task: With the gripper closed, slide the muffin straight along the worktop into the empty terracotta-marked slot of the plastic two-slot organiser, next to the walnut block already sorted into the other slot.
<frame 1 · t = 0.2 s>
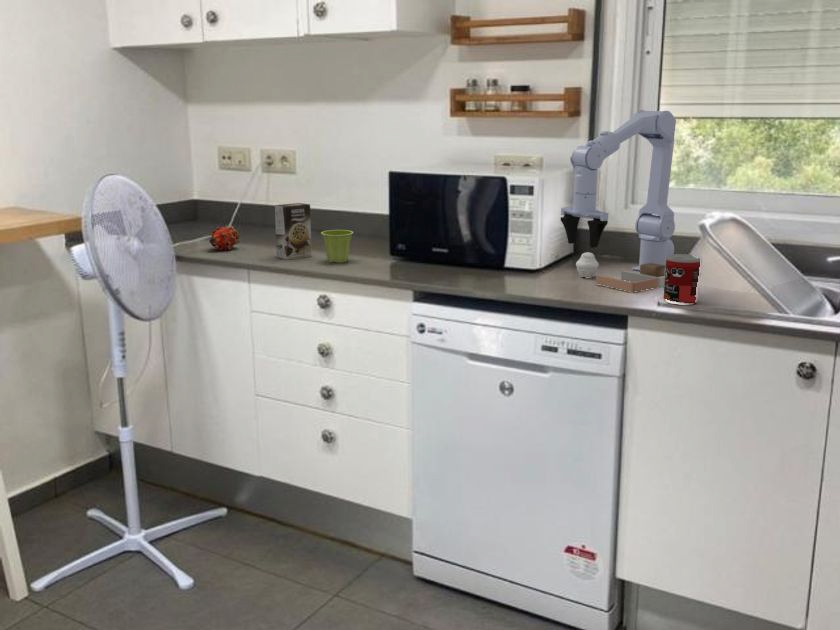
hand: (582, 245, 223), 10 cm above the worktop, fingers open, 7 cm apart
organiser: (639, 283, 223), on the worktop
canned food: (680, 302, 203), on the worktop
plant pot: (337, 261, 254), on the worktop
walnut block: (651, 281, 226), resting in organiser
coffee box: (294, 257, 261), on the worktop
muffin: (586, 277, 231), on the worktop
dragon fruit: (224, 250, 272), on the worktop
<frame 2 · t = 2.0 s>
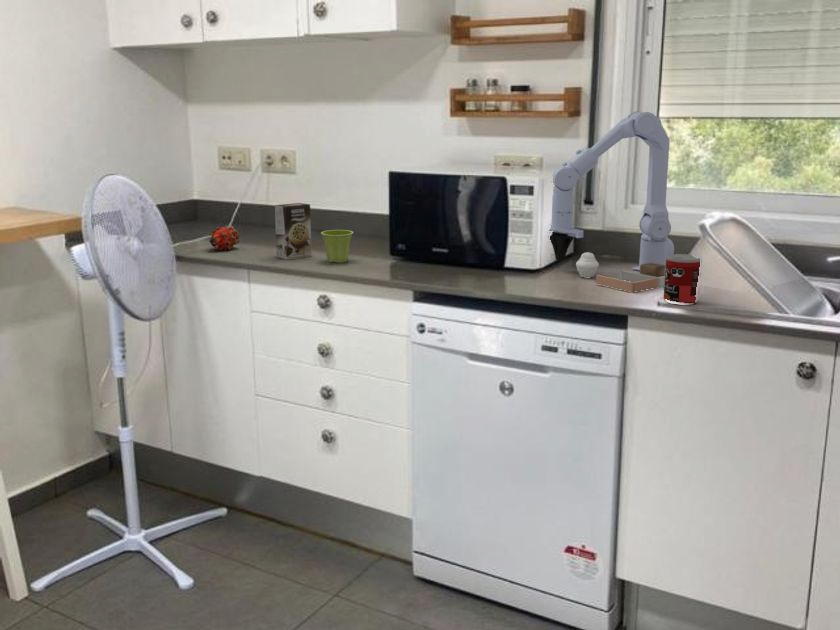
hand: (560, 260, 238), 3 cm above the worktop, fingers closed
nothing on the worktop moved.
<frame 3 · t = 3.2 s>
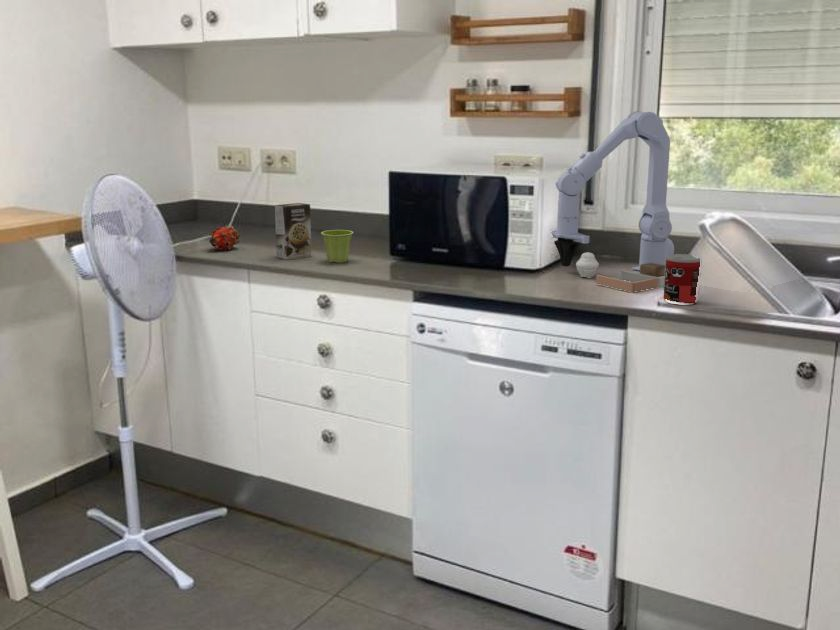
hand: (565, 265, 237), 2 cm above the worktop, fingers closed
nothing on the worktop moved.
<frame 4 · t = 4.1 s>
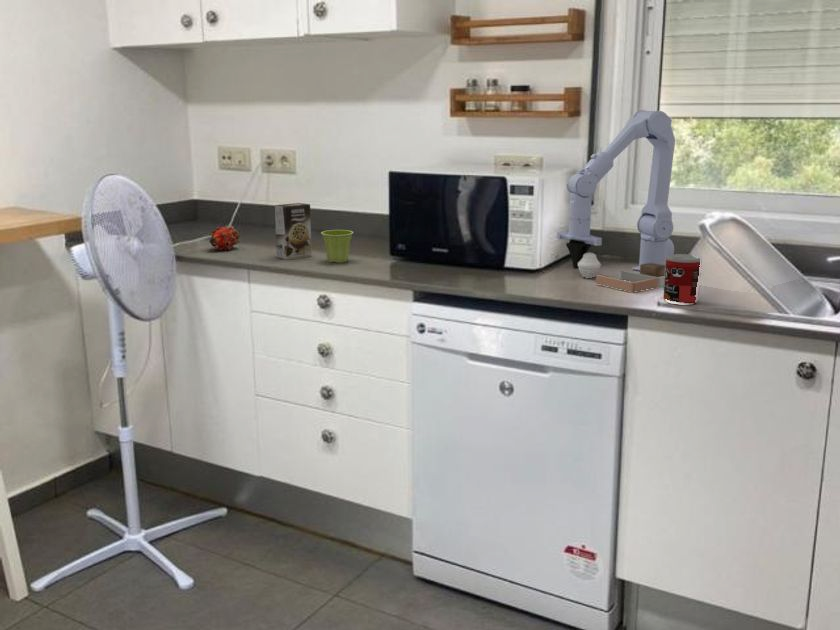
hand: (577, 268, 233), 2 cm above the worktop, fingers closed
muffin: (588, 278, 230), on the worktop, touching gripper
everything else where it was.
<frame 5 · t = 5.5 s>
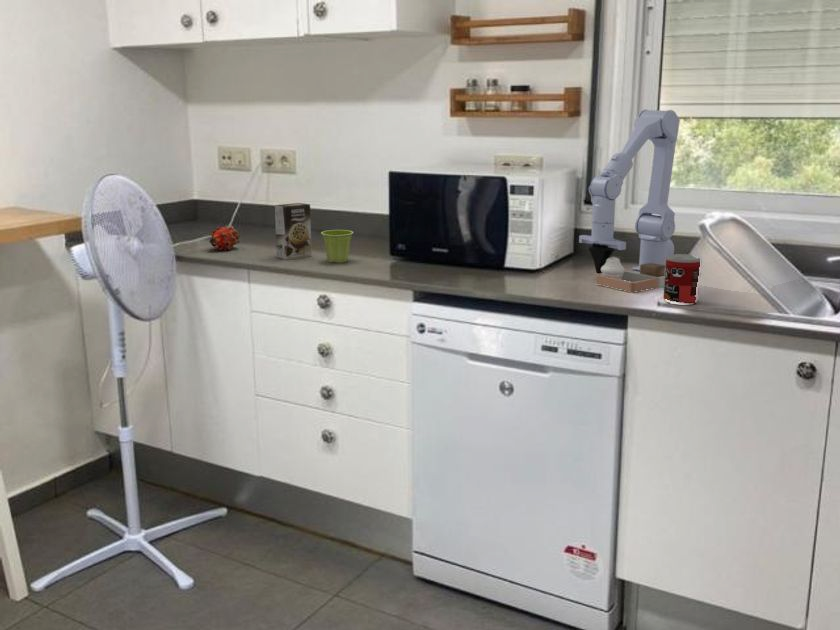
hand: (600, 272, 227), 2 cm above the worktop, fingers closed
muffin: (611, 283, 224), resting in organiser, touching gripper
everything else where it was.
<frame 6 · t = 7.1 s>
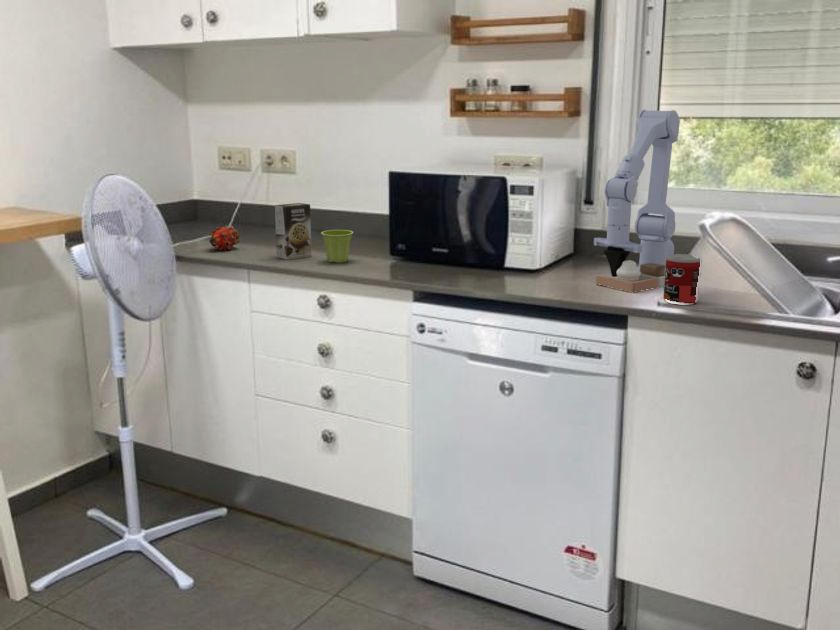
hand: (615, 276, 223), 2 cm above the worktop, fingers closed
muffin: (627, 286, 220), resting in organiser, touching gripper
everything else where it was.
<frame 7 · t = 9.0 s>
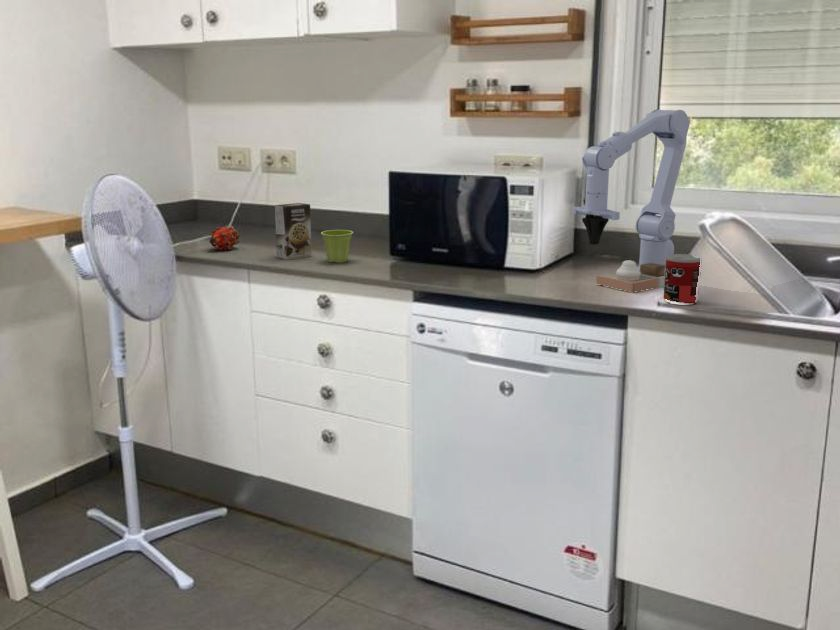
hand: (594, 243, 227), 9 cm above the worktop, fingers closed
muffin: (627, 286, 220), resting in organiser
everything else where it was.
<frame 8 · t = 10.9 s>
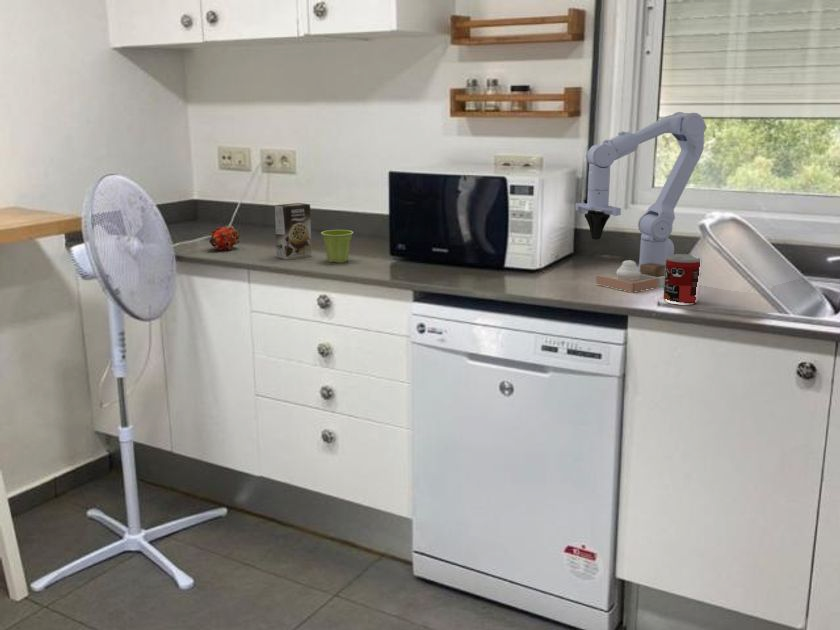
hand: (596, 239, 235), 9 cm above the worktop, fingers closed
nothing on the worktop moved.
at the end: muffin 0.9 cm from the target spot on the organiser, point 0.0 cm above the organiser's base; muffin tilted 0°; walnut block moved 0.1 cm from its start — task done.
